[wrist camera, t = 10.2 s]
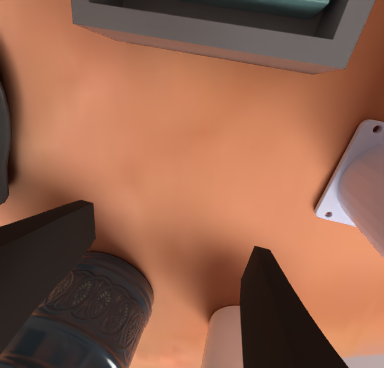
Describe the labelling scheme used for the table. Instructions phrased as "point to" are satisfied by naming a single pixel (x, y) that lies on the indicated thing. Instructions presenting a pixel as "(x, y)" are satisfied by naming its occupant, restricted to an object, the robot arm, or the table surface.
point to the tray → (236, 28)
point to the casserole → (4, 144)
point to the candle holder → (224, 340)
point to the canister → (86, 319)
